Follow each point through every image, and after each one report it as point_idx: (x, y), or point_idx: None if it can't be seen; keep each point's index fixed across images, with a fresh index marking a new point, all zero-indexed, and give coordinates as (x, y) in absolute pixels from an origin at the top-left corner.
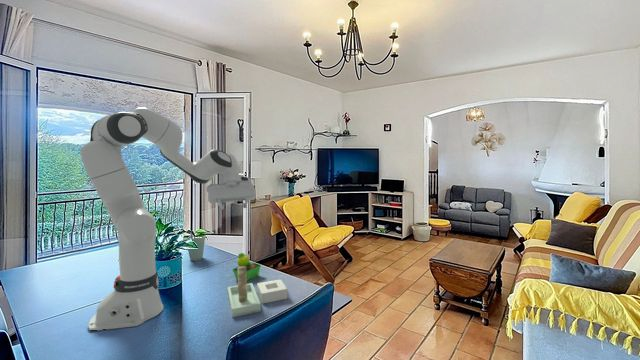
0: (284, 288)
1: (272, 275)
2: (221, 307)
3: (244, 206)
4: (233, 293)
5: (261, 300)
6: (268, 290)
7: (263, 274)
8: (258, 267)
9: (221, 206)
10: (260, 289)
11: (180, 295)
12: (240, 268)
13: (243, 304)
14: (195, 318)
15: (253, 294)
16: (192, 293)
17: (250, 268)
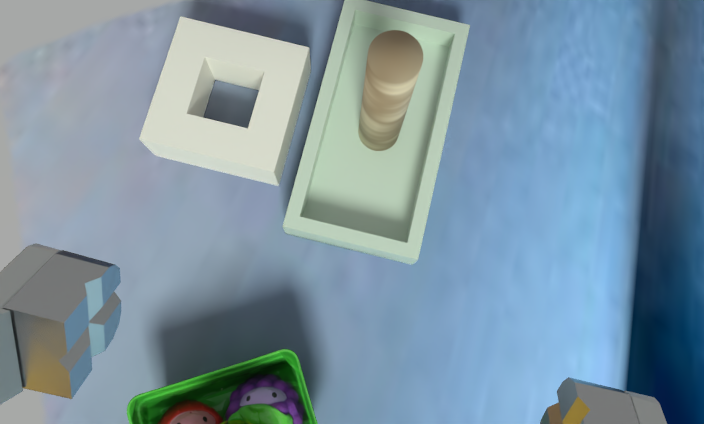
0: (188, 27)
1: None
2: (477, 151)
3: (99, 265)
4: (392, 231)
5: (307, 77)
6: (265, 56)
7: None
8: (156, 391)
9: (640, 414)
10: (293, 91)
11: None
12: (407, 47)
13: None
14: (595, 128)
15: (328, 114)
16: None
17: (206, 416)
